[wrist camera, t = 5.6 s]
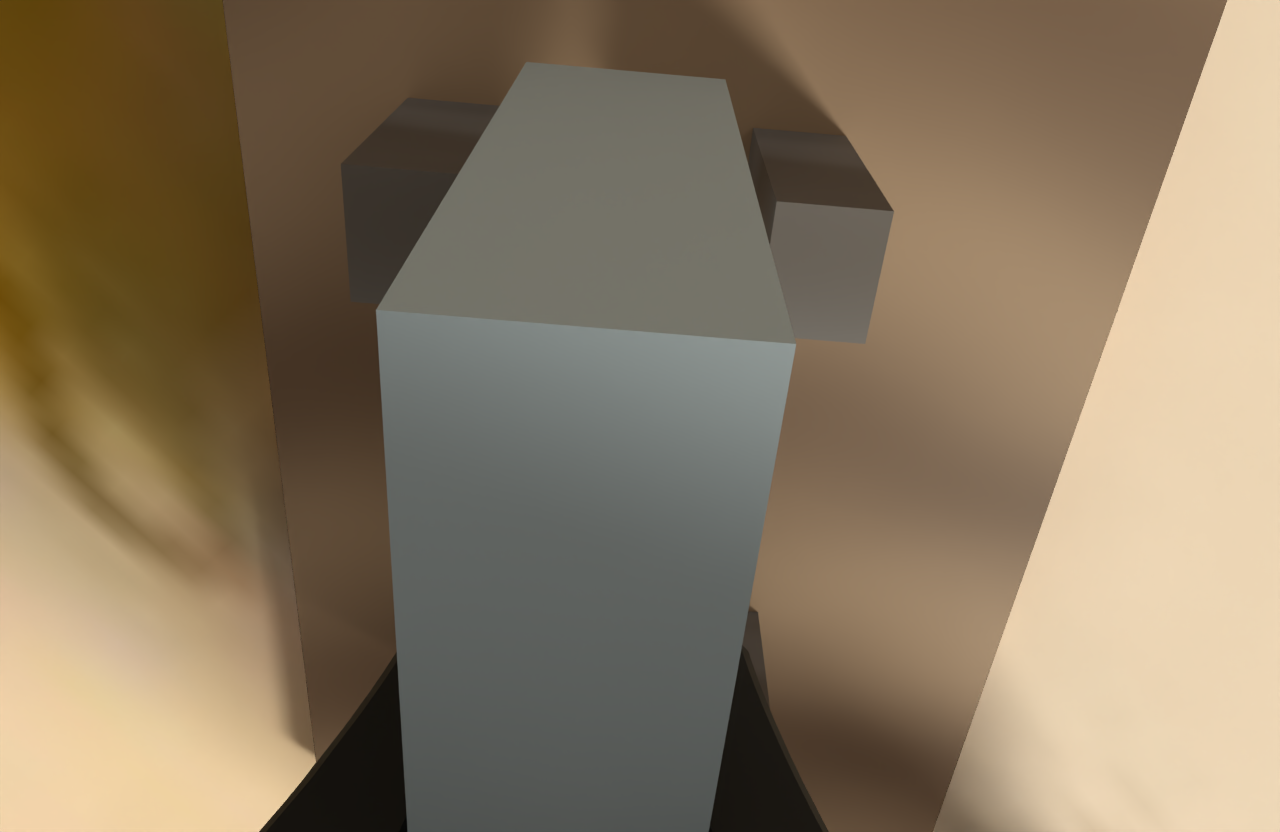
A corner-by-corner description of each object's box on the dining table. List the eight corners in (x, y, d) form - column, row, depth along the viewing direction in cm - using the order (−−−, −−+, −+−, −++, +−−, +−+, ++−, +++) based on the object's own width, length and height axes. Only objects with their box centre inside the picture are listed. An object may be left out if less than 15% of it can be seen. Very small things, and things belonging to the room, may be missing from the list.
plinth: (900, 816, 21) (953, 1032, 17) (346, 777, 21) (274, 987, 17) (1270, -322, 11) (1588, -412, 7) (224, -427, 11) (-15, -576, 7)
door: (633, 843, 16) (619, 1325, 11) (460, 831, 16) (363, 1311, 11) (725, 79, 10) (794, 344, 5) (446, 53, 10) (203, 294, 5)
